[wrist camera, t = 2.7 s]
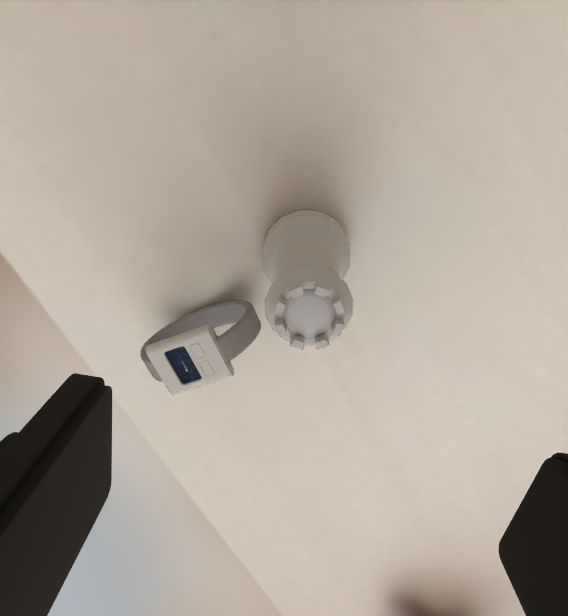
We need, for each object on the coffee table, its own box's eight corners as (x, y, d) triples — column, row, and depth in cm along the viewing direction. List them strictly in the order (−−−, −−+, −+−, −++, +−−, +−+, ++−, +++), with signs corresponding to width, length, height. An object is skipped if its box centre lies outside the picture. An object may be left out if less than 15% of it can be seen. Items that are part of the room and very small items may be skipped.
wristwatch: (250, 276, 23) (239, 317, 18) (269, 319, 24) (263, 368, 19) (149, 312, 24) (114, 360, 19) (172, 352, 25) (144, 406, 20)
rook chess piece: (292, 189, 21) (289, 232, 14) (366, 237, 22) (400, 301, 14) (247, 263, 22) (222, 335, 15) (317, 304, 23) (326, 392, 16)
